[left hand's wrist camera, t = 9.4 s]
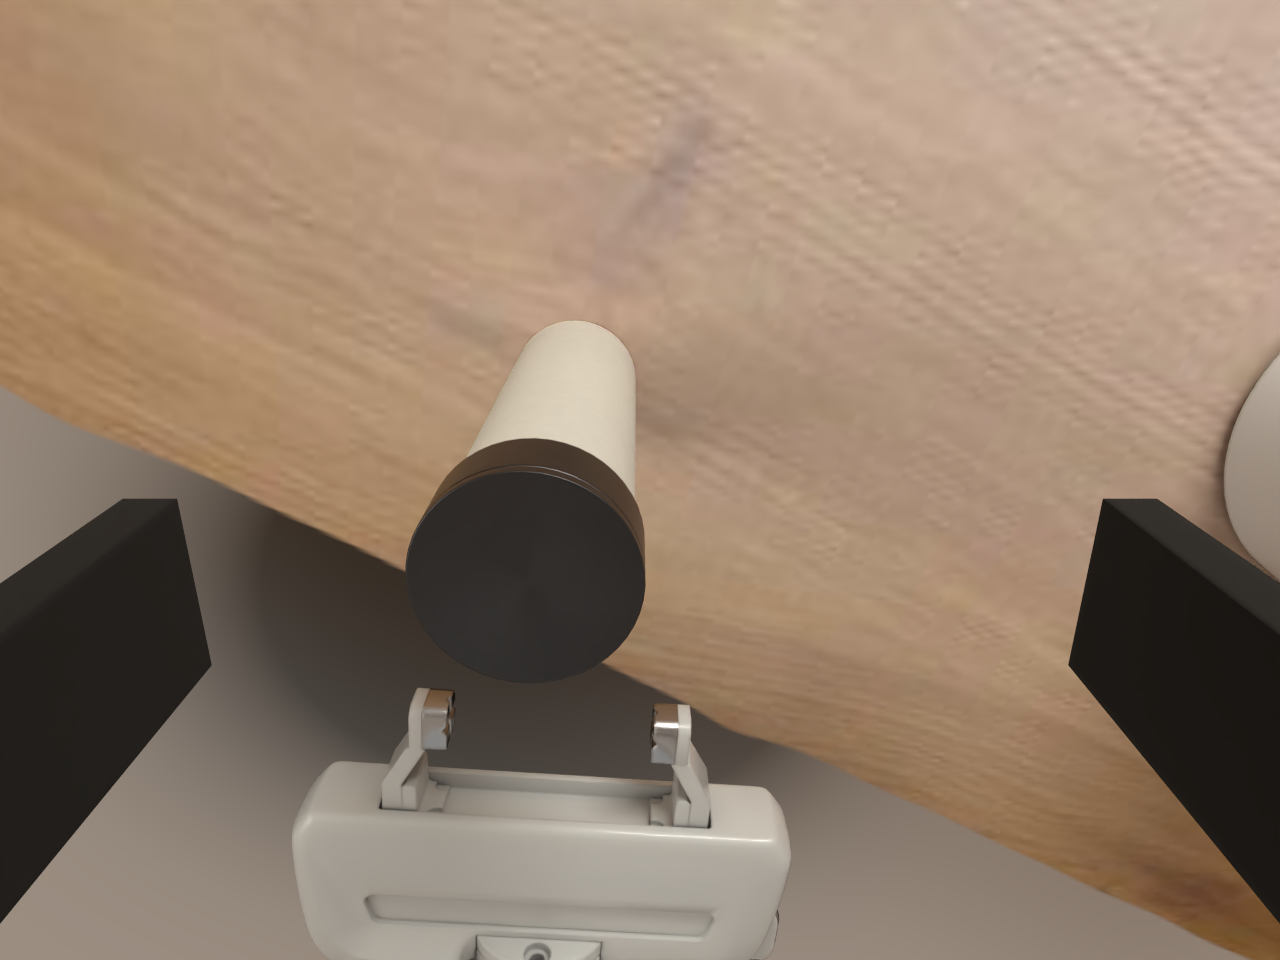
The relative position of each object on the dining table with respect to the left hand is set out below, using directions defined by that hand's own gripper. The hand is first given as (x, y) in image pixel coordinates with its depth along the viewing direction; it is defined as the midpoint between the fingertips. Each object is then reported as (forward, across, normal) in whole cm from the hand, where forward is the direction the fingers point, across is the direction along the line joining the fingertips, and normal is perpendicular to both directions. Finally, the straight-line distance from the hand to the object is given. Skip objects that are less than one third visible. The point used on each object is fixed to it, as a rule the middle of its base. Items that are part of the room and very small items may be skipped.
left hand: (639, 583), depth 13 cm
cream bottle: (+24, +3, +3) cm, 24 cm away
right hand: (+17, +3, +15) cm, 23 cm away
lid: (+7, +3, +3) cm, 8 cm away
